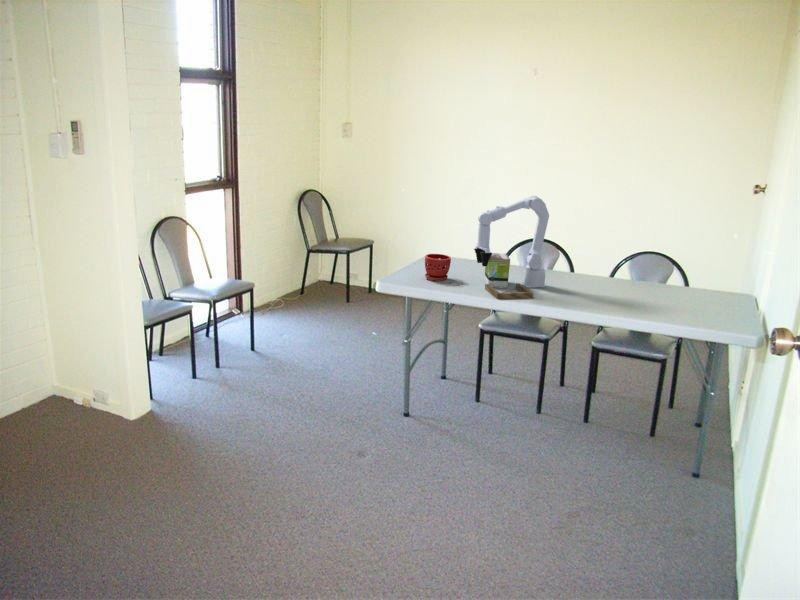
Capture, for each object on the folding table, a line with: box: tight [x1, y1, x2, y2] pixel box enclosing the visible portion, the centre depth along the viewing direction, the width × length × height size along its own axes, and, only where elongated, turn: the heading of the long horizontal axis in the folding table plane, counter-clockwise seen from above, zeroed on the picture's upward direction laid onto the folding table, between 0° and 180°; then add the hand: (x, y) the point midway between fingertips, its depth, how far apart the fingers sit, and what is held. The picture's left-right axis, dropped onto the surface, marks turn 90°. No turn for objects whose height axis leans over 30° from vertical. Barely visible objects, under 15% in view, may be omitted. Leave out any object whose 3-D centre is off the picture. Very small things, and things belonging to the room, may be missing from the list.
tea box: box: [484, 252, 511, 289], centre depth 335 cm, size 15×10×15 cm, turn 0°
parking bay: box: [484, 282, 534, 300], centre depth 319 cm, size 18×18×2 cm
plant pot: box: [424, 253, 452, 282], centre depth 342 cm, size 13×13×12 cm
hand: (482, 264), depth 333 cm, fingers open, 7 cm apart
